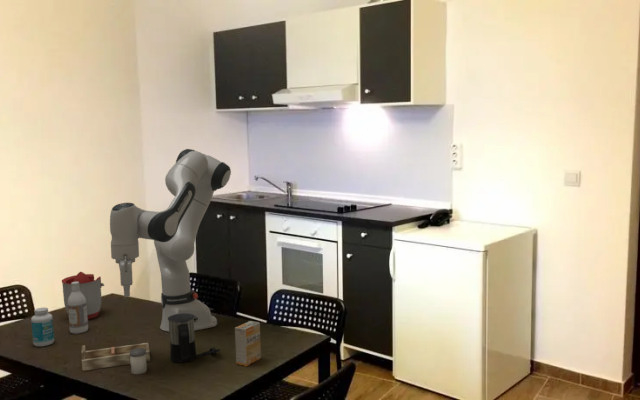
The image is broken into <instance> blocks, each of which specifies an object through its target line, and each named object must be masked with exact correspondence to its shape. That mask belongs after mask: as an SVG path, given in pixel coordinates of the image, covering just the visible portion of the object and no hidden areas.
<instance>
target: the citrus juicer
mask: <svg viewBox="0 0 640 400" xmlns="http://www.w3.org/2000/svg"><path fill="white" fill-rule="evenodd" d="M72 282H79V287H80V292H81V293H82V294H83V295H84V297H85V299H86V306H87V318H88V320H91V319H95V318H96V317H98V316H99V314H100V312H101V307H102V287H105V284H104V283H103V282H102V278H101V276H98V277H96V279H95V274H93V273H85V272H83V271H78V273H77V274H76V275H71V276H67V277H65V278H63V279H61V283H62V293H63V303H64V308H65V311H66V313H67V315H68V305H67V304H68V298H69V296H70V294H71V293H72V286H71V283H72Z"/></svg>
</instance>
